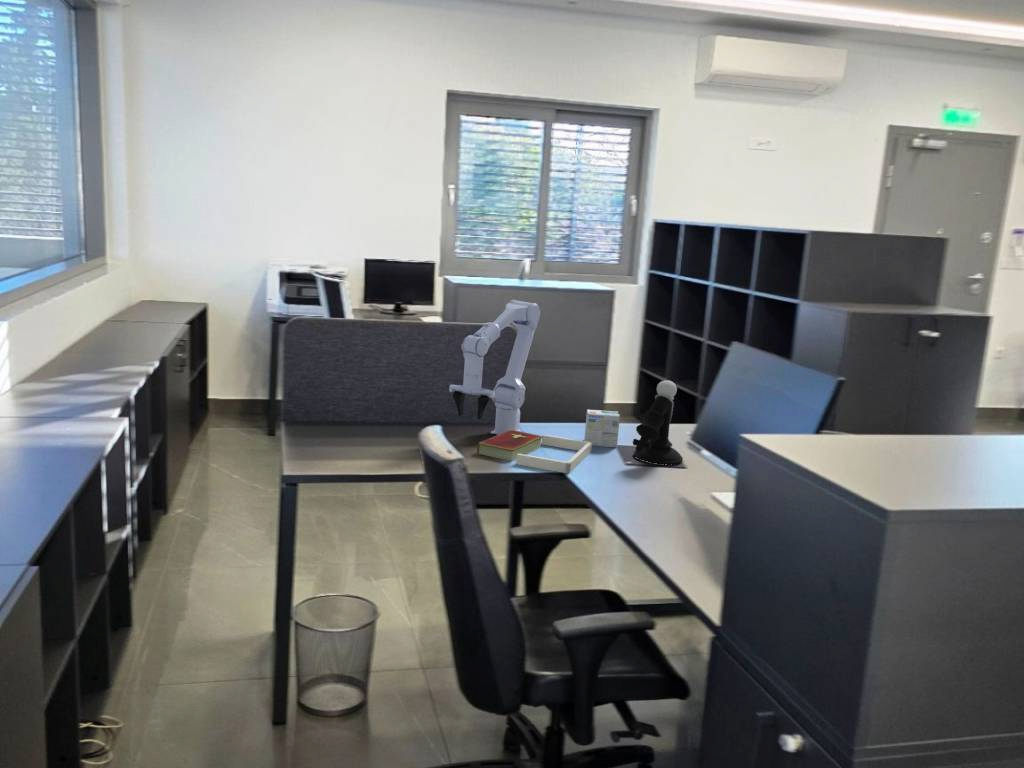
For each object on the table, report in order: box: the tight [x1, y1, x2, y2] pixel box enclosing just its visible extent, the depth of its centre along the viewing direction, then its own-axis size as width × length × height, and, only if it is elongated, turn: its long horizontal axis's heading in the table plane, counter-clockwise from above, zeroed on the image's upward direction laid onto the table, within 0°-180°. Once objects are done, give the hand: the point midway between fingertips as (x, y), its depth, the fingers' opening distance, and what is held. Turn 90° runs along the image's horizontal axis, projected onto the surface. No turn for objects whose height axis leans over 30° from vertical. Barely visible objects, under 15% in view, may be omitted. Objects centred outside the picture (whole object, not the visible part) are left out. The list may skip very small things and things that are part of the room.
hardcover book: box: [476, 430, 543, 462], centre depth 266 cm, size 12×21×4 cm, turn 153°
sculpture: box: [632, 379, 684, 466], centre depth 264 cm, size 15×24×25 cm, turn 147°
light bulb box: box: [583, 409, 621, 448], centre depth 280 cm, size 11×7×11 cm, turn 89°
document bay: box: [515, 434, 593, 474], centre depth 261 cm, size 26×16×3 cm, turn 161°
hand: (470, 416), depth 269 cm, fingers open, 6 cm apart
